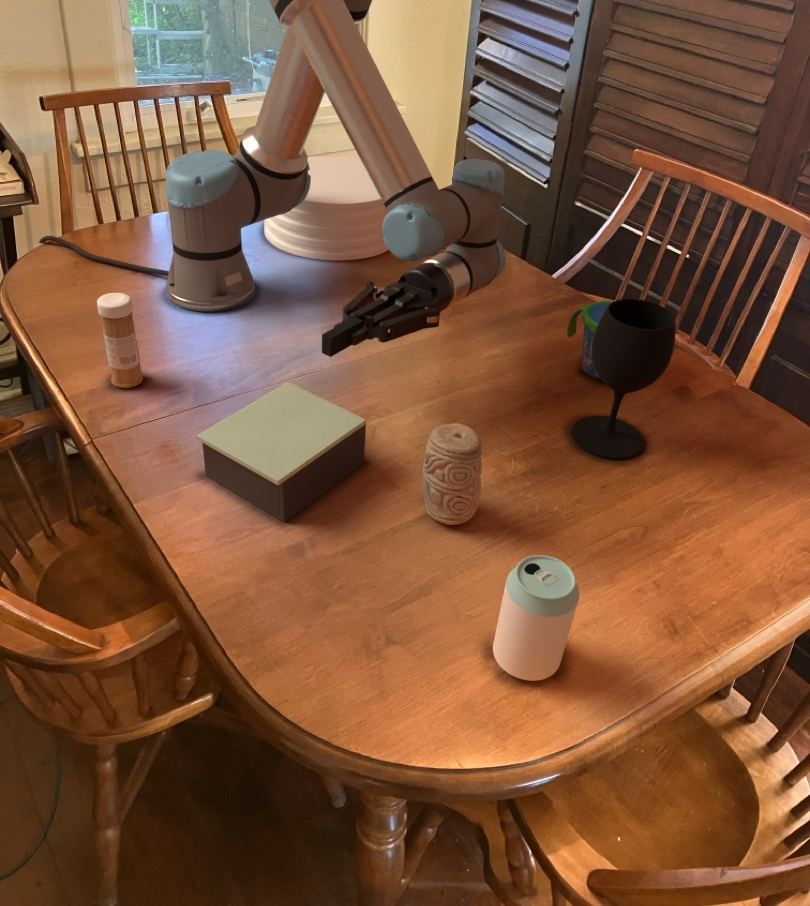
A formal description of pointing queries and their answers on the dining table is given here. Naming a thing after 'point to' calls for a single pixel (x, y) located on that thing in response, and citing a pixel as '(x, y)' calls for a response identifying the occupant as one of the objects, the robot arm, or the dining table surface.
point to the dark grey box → (295, 489)
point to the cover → (281, 432)
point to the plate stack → (333, 214)
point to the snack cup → (588, 332)
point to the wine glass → (625, 371)
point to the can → (535, 617)
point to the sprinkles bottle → (120, 339)
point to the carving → (452, 473)
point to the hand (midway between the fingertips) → (326, 345)
